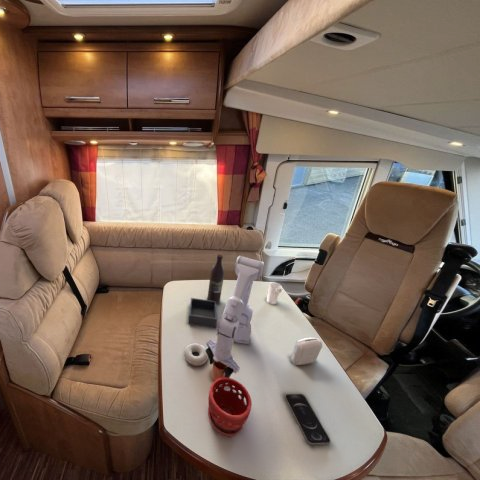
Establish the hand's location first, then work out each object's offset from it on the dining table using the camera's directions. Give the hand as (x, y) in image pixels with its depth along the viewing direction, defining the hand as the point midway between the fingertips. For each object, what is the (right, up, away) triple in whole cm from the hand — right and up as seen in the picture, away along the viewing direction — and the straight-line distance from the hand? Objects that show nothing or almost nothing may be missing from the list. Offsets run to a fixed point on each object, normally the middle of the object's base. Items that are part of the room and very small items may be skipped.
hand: (219, 370), depth 91 cm
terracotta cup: (0, -4, +2) cm, 4 cm away
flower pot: (-1, -10, -11) cm, 15 cm away
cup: (+41, +15, +44) cm, 62 cm away
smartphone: (+27, -10, -11) cm, 31 cm away
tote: (-1, +11, +32) cm, 34 cm away
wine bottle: (+8, +15, +43) cm, 46 cm away
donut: (-8, 0, +10) cm, 13 cm away
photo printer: (+38, -1, +10) cm, 39 cm away
